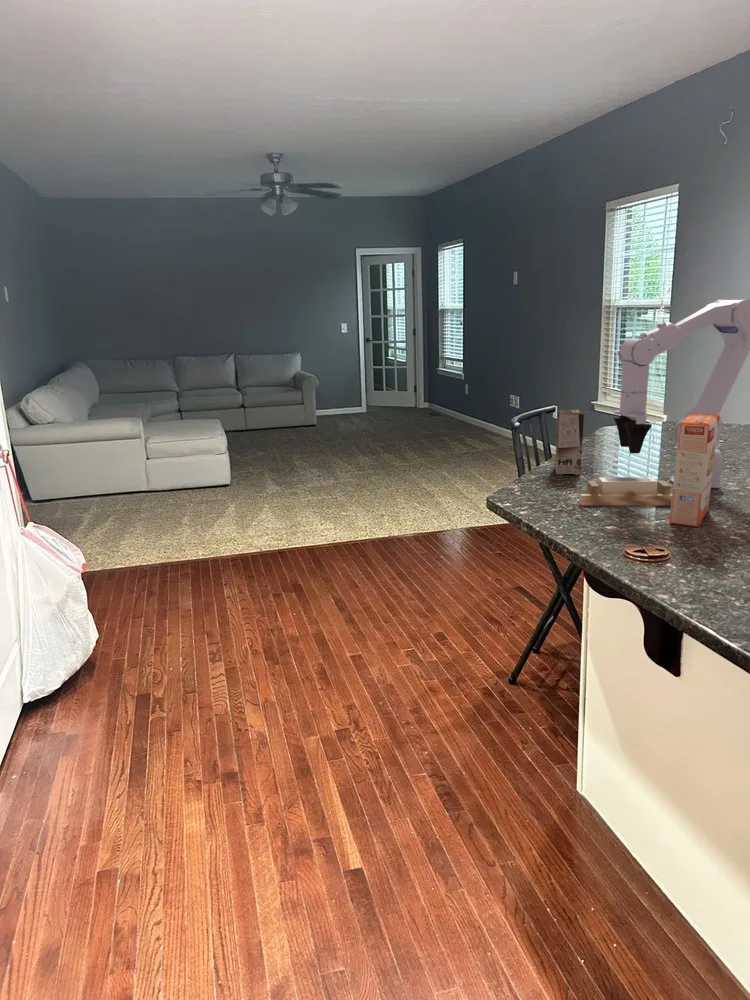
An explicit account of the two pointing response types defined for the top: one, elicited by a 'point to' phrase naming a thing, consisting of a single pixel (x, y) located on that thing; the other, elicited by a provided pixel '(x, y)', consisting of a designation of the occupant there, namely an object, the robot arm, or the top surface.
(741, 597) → the top surface
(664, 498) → the ledge
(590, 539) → the top surface
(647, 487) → the cream block
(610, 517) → the top surface
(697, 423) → the cracker box
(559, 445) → the coffee box
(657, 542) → the top surface
